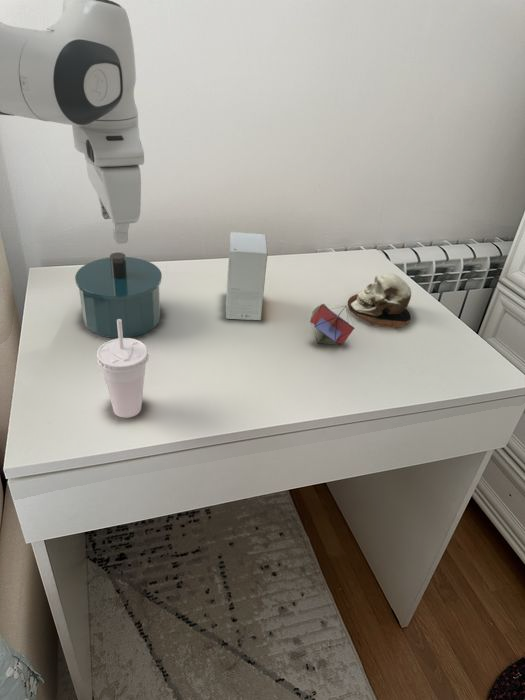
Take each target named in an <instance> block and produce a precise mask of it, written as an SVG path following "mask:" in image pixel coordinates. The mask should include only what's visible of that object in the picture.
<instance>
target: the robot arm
mask: <svg viewBox="0 0 525 700" xmlns="http://www.w3.org/2000/svg"><path fill="white" fill-rule="evenodd" d="M62 1H63V2H62V14H61V15H60V17H59V18H58V20H56V22H54V23H53V24H52V25H51V26H48V27H47V28H46V30H43V29H42V30H39V29H32V28H24V27H19V26H13V25H9V24H6V23H3V22H1V21H0V116H13V117H16V116H17V117H20V118H28V119H32V120H36V121H37V120H38V121H43V122H50V123H57V124H63V125H68V126H71V127H72V137H73V146H74V148H75V150H76V151H77V152H80V153H82V154H83V155H84V159H85V161H86V172H87V177H88V180H89V181H90V183H91V185H92V188H93V189H94V191H95V193H96V194H97V198H98V202H99V205H100V214H101V216H102V218H103V219H104V220H111V222H112V223H113V228H112V232H113V239H114V241H115V243H116V244H118V245H121V244H127V243H128V242H129V228H130V224H135V223H138V222H139V220H140V215H141V207H142V206H141V205H142V175H141V168H140V166H142V165H144V164H145V152H144V148H143V145H142V141H141V138H140V137H141V136H140V128H139V112H138V107H137V103H136V100H135V88H136V87H135V86H136V83H137V73H136V72H137V70H136V69H137V68H136V56H135V46H134V39H133V33H132V28H131V23H130V18H129V15H128V13H127V10H126V9H125V8H124V7H123V6H121V5H120V4H119V3H117V2H115V1H113V0H62Z"/></svg>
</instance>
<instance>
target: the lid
mask: <svg viewBox="0 0 525 700" xmlns="http://www.w3.org/2000/svg"><path fill="white" fill-rule="evenodd" d="M74 280H75V285H76V286H77V288H78V290H79V289H80V290H81V291H83V292H84V293H86V294H88V295H91V296H93V297H97V298H102V299H110V300H122V299H131V298H136V297H140V296H143V295H146V294H148V293H150V292H152V291H154V290H155V289H156V288H157V287H158V286H159V287H160V286H161V284H162V280H163V274H162V271H161V269H160V268H159V267H158V266H157V265H156V264H154V263H152V262H151V261H147V260H145V259H142V258H137V257H131V256H126V254H125V253H124V252H113V253H111V254H110V255H109V257H105V258H99V259H95V260H93V261H90V262H88V263H86V264H84V265H82V266H81V267H80V268H79V269H78V270H77V272H76V273H75V277H74Z"/></svg>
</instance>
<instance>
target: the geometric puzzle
mask: <svg viewBox="0 0 525 700" xmlns="http://www.w3.org/2000/svg"><path fill="white" fill-rule="evenodd" d="M337 306H338V307H337ZM337 306H336V309H338V308H339V307H341V308H342V307H343V309H342V310H341V311H340V312H339V314H337V313H335V312H334V311H333V310H332V309H334V307H332V308H329V307H328V305H327V304H325V303H320V305H318V306H316V308H314V309H313V310H312V311H311V316H310V320H309V322H310V325H311V326H313V327H311V328H312V330H313V335H314V337H315V339H318V337H317V336H316V334H317V333H316V331H315V330H318V332H320V333H322V334H323V335H322V337H321V338H320V340H319V341H316V343H317V345H323V342H321V341H322V340H323V339H324V338H325V336H326V337H327V338H328V339H330V340H331V341H332V342H333V343H336V344H332V343H331V341H329V342H326V344H329V343H330V344H331V345H333V346H334V345H337V346H338V345H339V346H343V344H344V343H345V342H346V340H347V339H348V338H349V337H350V336H351V334H352V332H353V331H354V330H356V328H355V327H354V326H353V324H354V323H353V320H352V319H350V321H351V323H352V325H351V324H350V323H349V321H347V320H346V319H343V318H342V317H341V314H342V312H343V311H344V309H346V311H347V314H348V315H346V316H347V319H349V317H351V316H350V315H351V314H350V313H349V311H348V307H347V305H340V304H339V305H338V304H337ZM314 329H315V330H314Z"/></svg>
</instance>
